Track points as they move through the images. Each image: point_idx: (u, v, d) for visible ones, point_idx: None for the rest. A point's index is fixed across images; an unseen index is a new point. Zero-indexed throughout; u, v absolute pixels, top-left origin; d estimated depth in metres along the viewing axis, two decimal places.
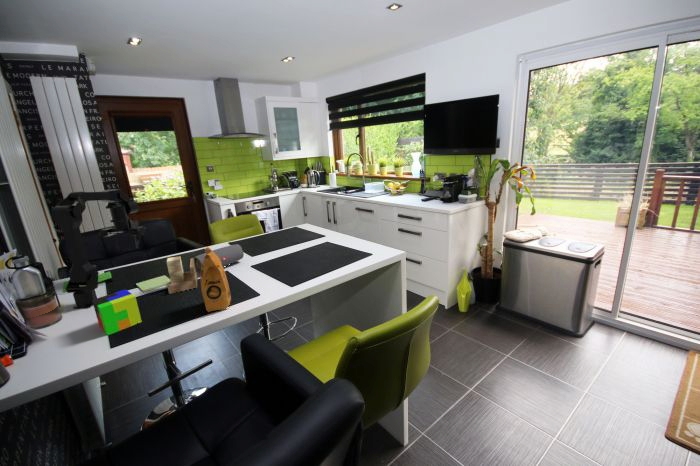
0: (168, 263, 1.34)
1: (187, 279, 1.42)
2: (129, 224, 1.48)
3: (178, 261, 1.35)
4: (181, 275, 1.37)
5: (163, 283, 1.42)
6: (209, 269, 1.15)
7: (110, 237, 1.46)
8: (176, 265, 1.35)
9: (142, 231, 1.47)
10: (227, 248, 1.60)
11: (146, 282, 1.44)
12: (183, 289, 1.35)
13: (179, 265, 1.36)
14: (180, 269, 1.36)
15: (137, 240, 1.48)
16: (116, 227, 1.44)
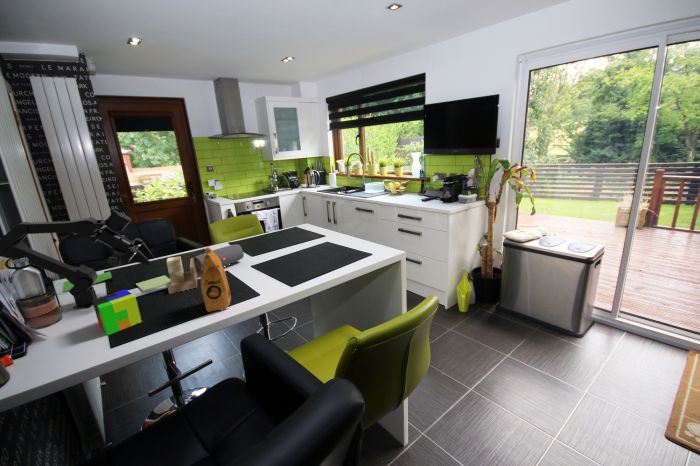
0: (168, 263, 1.34)
1: (187, 279, 1.42)
2: None
3: (178, 261, 1.35)
4: (181, 275, 1.37)
5: (163, 283, 1.42)
6: (209, 269, 1.15)
7: None
8: (176, 265, 1.35)
9: None
10: (227, 248, 1.60)
11: (146, 282, 1.44)
12: (183, 289, 1.35)
13: (179, 265, 1.36)
14: (180, 269, 1.36)
15: None
16: (129, 241, 1.28)
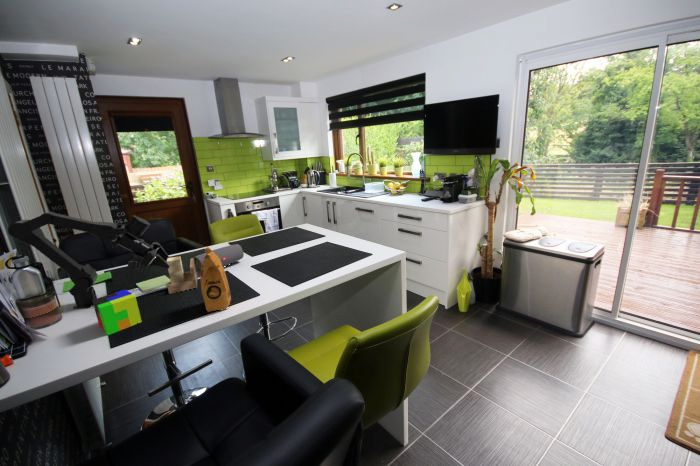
0: (168, 263, 1.34)
1: (187, 279, 1.42)
2: None
3: (178, 261, 1.35)
4: (181, 275, 1.37)
5: (163, 283, 1.42)
6: (209, 269, 1.15)
7: None
8: (176, 265, 1.35)
9: None
10: (227, 248, 1.60)
11: (146, 282, 1.44)
12: (183, 289, 1.35)
13: (179, 265, 1.36)
14: (180, 269, 1.36)
15: None
16: (148, 245, 1.31)
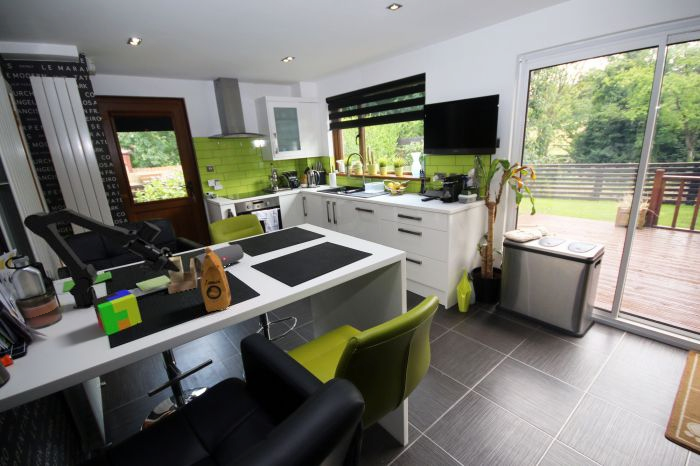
0: None
1: (187, 279, 1.42)
2: None
3: (178, 261, 1.35)
4: (181, 275, 1.37)
5: (163, 283, 1.42)
6: (209, 269, 1.15)
7: None
8: (176, 265, 1.35)
9: None
10: (227, 248, 1.60)
11: (146, 282, 1.44)
12: (183, 289, 1.35)
13: (179, 265, 1.36)
14: (180, 269, 1.36)
15: None
16: (159, 250, 1.33)
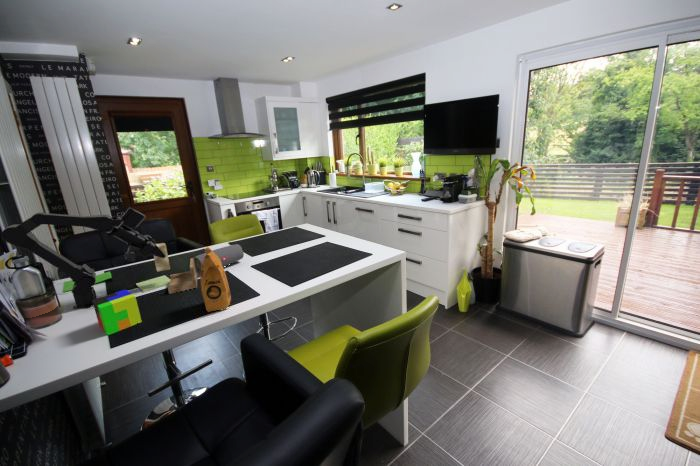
0: None
1: (187, 279, 1.42)
2: None
3: (164, 247, 1.37)
4: (167, 261, 1.39)
5: (163, 283, 1.42)
6: (209, 269, 1.15)
7: None
8: (162, 251, 1.37)
9: None
10: (227, 248, 1.60)
11: (146, 282, 1.44)
12: (183, 289, 1.35)
13: (165, 251, 1.37)
14: (166, 255, 1.38)
15: None
16: (144, 236, 1.34)
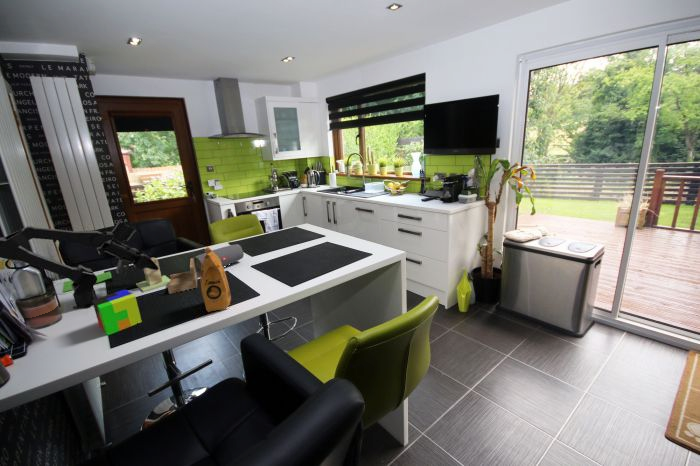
0: None
1: (187, 279, 1.42)
2: None
3: (156, 261, 1.41)
4: (159, 275, 1.42)
5: (163, 283, 1.42)
6: (209, 269, 1.15)
7: None
8: None
9: None
10: (227, 248, 1.60)
11: (146, 282, 1.44)
12: (183, 289, 1.35)
13: (157, 265, 1.41)
14: (158, 269, 1.42)
15: None
16: (134, 249, 1.36)
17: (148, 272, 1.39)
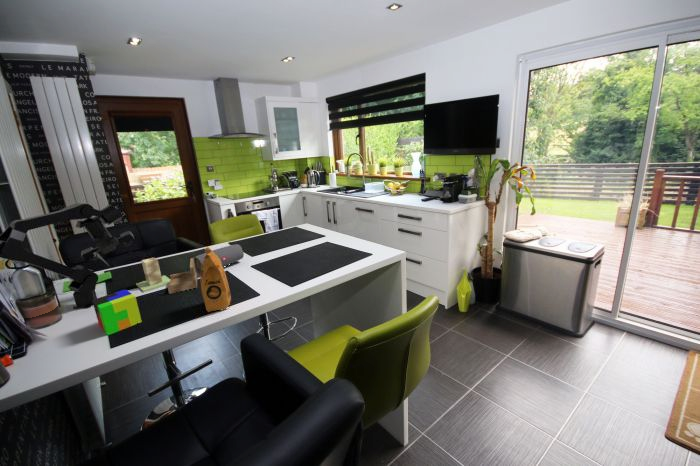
0: (146, 264, 1.38)
1: (187, 279, 1.42)
2: None
3: (156, 261, 1.41)
4: (159, 275, 1.42)
5: (163, 283, 1.42)
6: (209, 269, 1.15)
7: None
8: (154, 266, 1.40)
9: None
10: (227, 248, 1.60)
11: (146, 282, 1.44)
12: (183, 289, 1.35)
13: (157, 265, 1.41)
14: (158, 269, 1.42)
15: None
16: None
17: (148, 272, 1.39)
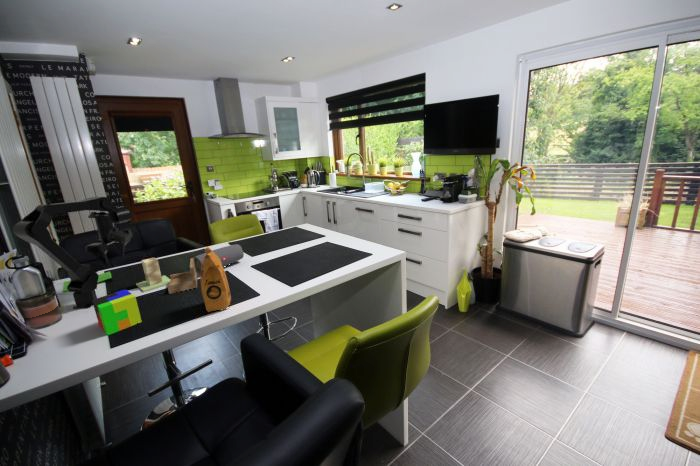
0: (146, 264, 1.38)
1: (187, 279, 1.42)
2: None
3: (156, 261, 1.41)
4: (159, 275, 1.42)
5: (163, 283, 1.42)
6: (209, 269, 1.15)
7: (115, 243, 1.40)
8: (154, 266, 1.40)
9: (92, 250, 1.26)
10: (227, 248, 1.60)
11: (146, 282, 1.44)
12: (183, 289, 1.35)
13: (157, 265, 1.41)
14: (158, 269, 1.42)
15: (102, 257, 1.30)
16: None
17: (148, 272, 1.39)
